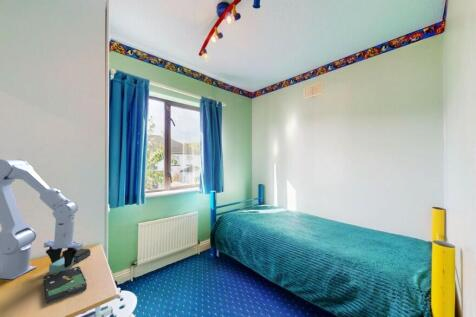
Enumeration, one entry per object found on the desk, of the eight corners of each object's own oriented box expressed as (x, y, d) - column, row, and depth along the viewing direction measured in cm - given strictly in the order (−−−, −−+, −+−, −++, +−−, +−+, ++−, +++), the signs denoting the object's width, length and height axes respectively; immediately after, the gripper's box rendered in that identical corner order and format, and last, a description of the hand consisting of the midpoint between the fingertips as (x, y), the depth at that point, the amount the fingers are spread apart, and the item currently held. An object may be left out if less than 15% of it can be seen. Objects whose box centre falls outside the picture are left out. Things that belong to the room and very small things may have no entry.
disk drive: (42, 284, 70) (46, 305, 60) (42, 276, 70) (46, 296, 60) (78, 272, 77) (87, 290, 68) (79, 265, 78) (88, 282, 68)
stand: (59, 261, 83) (60, 254, 83) (73, 253, 90) (74, 247, 90) (77, 262, 83) (77, 256, 83) (90, 254, 90) (90, 249, 90)
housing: (48, 273, 75) (49, 264, 75) (64, 264, 81) (64, 256, 82) (59, 274, 75) (60, 265, 75) (74, 265, 81) (74, 257, 81)
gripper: (36, 234, 74) (33, 269, 74) (72, 237, 74) (70, 272, 74) (54, 228, 82) (52, 260, 81) (87, 230, 81) (85, 263, 81)
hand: (61, 265), depth 78 cm, fingers closed on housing, 4 cm apart
